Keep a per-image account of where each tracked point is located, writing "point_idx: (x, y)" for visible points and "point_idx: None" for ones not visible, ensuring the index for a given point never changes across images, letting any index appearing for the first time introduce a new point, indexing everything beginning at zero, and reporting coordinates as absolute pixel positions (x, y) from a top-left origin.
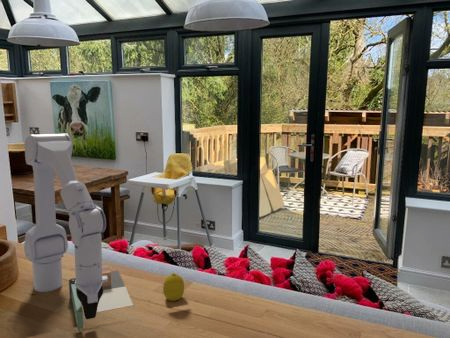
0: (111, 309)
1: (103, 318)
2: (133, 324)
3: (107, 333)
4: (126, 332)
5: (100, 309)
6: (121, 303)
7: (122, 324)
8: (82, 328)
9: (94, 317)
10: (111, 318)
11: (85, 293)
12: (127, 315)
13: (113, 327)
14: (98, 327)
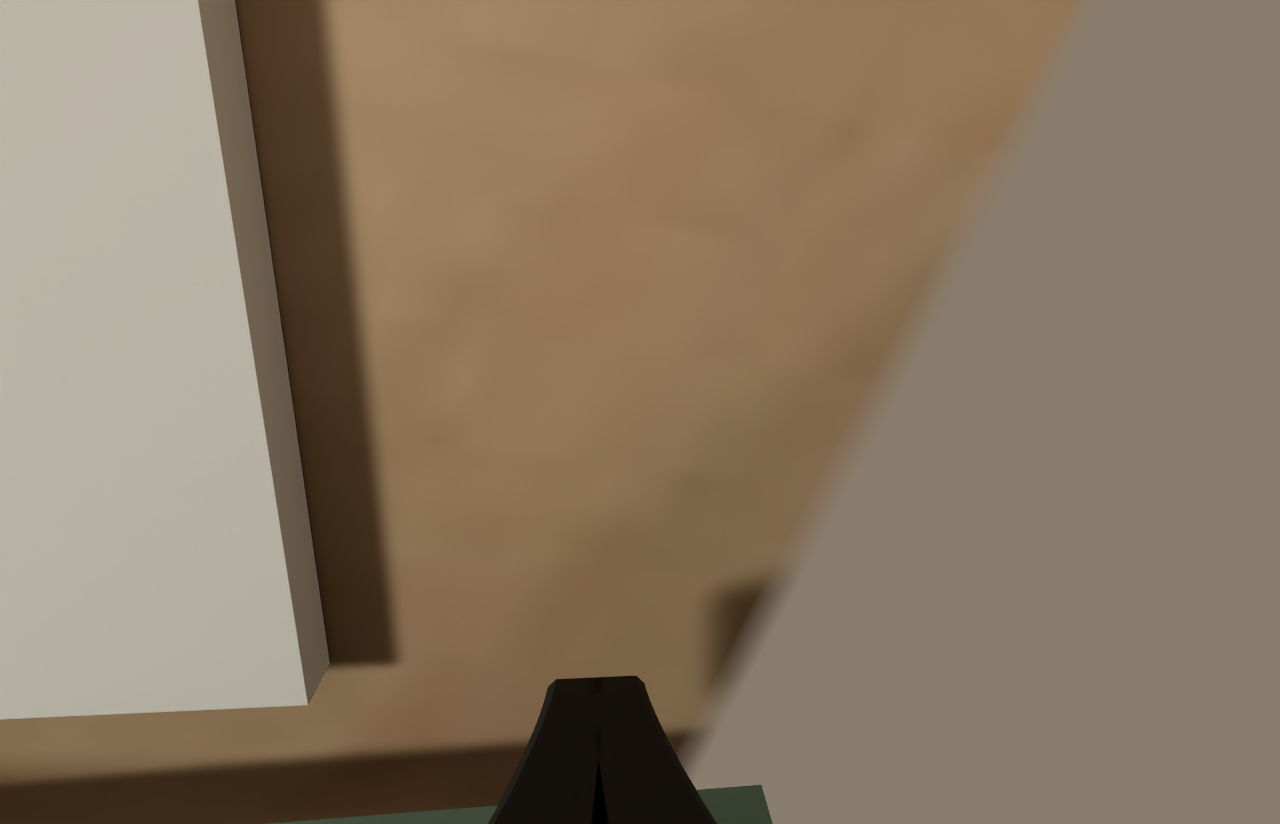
0: (252, 329)
1: (416, 456)
2: (791, 5)
3: (853, 445)
4: (964, 176)
5: (206, 513)
6: (35, 91)
7: (711, 195)
8: (762, 796)
9: (646, 692)
10: (457, 339)
11: None
12: (445, 47)
13: (737, 346)
14: (647, 543)
